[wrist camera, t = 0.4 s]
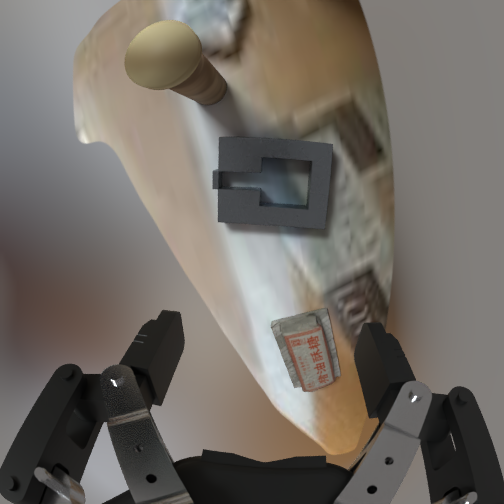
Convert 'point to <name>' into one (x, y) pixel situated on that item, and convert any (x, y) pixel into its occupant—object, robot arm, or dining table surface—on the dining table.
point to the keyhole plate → (248, 199)
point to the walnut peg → (173, 63)
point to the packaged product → (308, 349)
